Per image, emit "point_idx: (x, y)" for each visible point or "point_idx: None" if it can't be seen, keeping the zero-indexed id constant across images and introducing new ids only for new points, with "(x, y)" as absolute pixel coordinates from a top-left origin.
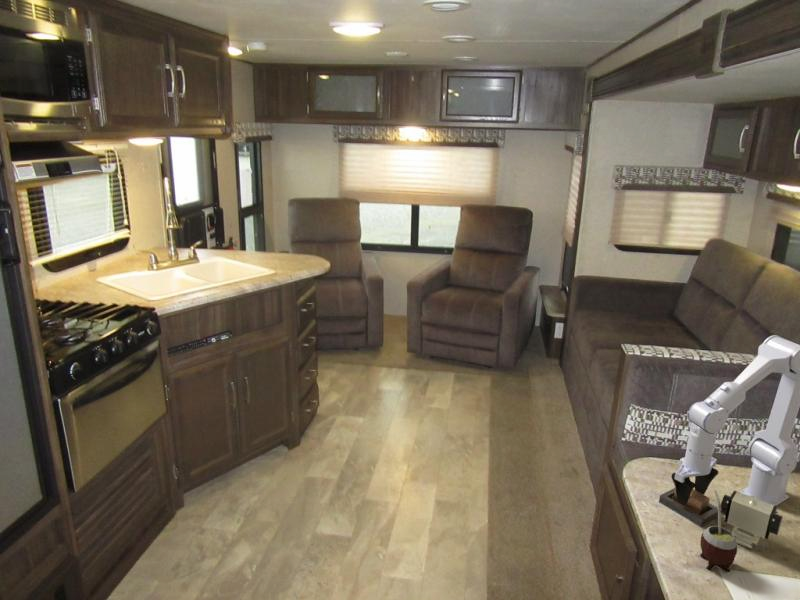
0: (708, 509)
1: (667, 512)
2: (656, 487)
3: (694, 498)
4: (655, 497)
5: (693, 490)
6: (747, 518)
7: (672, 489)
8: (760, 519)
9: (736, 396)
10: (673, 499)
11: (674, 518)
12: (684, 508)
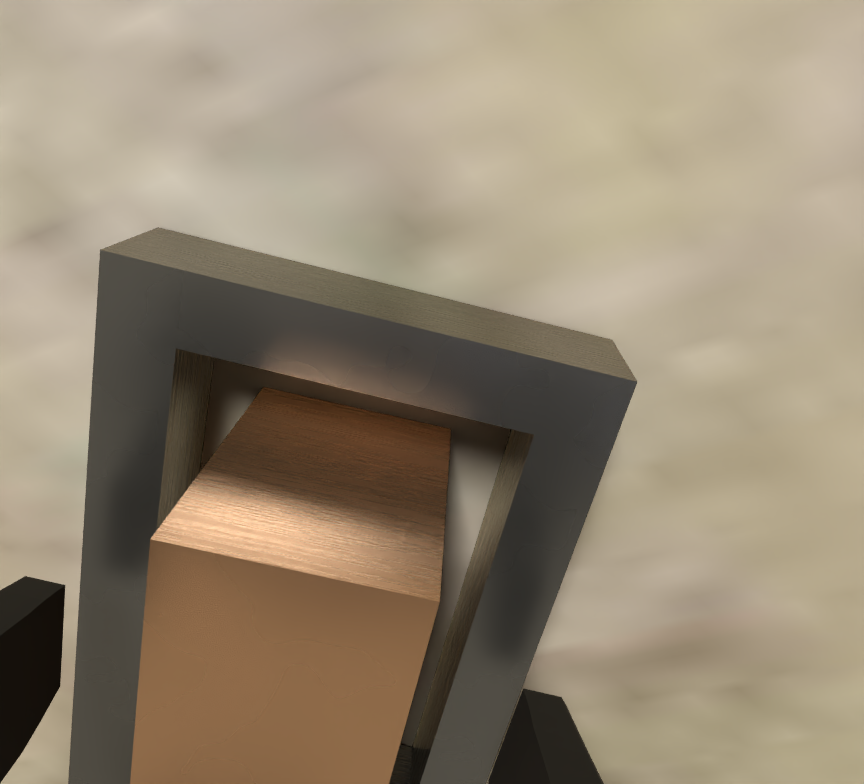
0: (419, 753)
1: (39, 399)
2: (532, 28)
3: None
4: (230, 139)
5: (356, 771)
6: None
7: (454, 343)
8: None
9: None
10: (240, 423)
11: (5, 497)
12: (104, 614)
